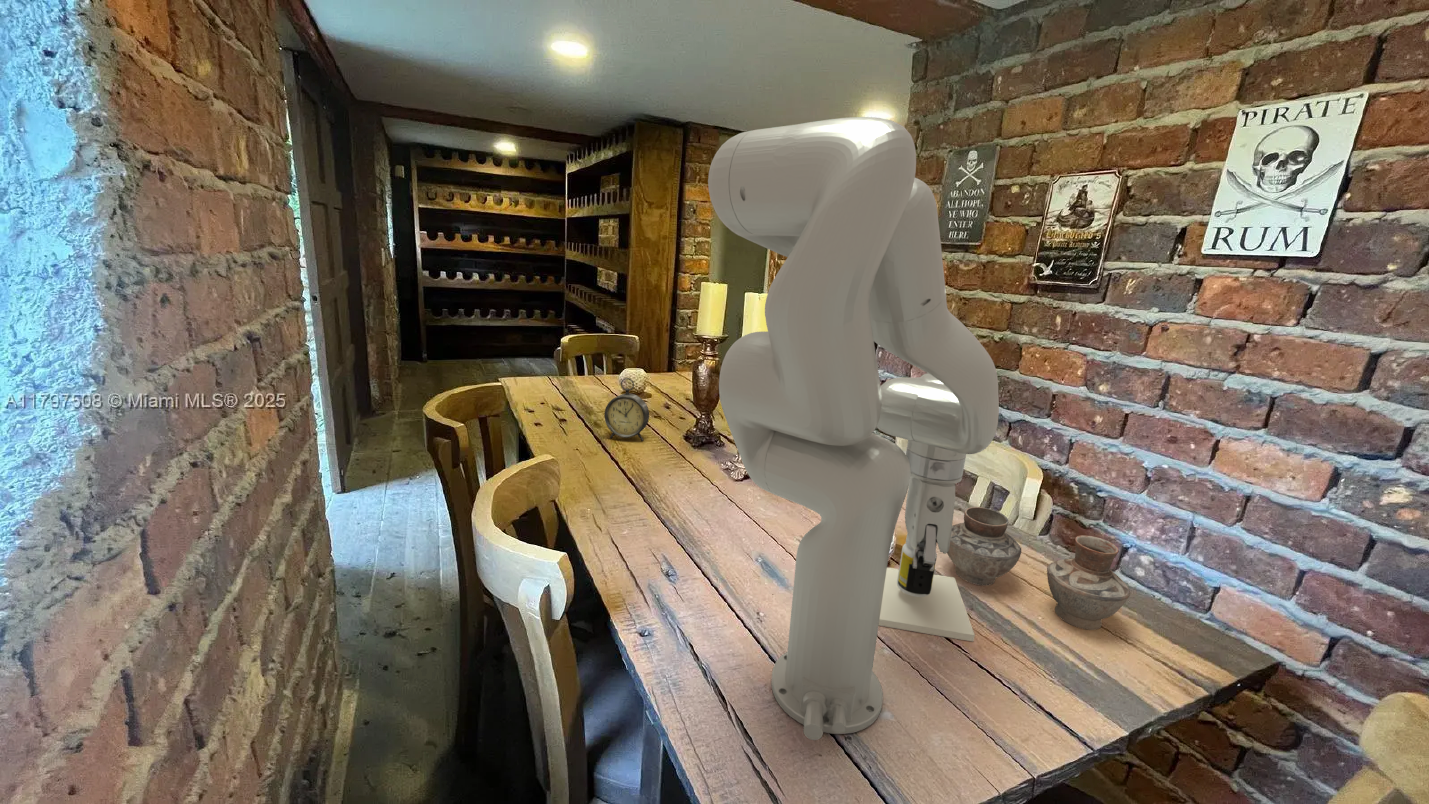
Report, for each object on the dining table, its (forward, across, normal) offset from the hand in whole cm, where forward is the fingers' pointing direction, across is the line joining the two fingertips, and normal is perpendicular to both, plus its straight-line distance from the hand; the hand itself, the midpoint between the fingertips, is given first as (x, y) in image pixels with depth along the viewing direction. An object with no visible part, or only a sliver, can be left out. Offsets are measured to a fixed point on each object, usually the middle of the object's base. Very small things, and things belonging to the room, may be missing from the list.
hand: (915, 579), depth 81 cm
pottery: (+4, +7, -17) cm, 19 cm away
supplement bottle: (+2, 0, 0) cm, 2 cm away
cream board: (+4, 0, 0) cm, 4 cm away
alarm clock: (+4, +54, +65) cm, 85 cm away
